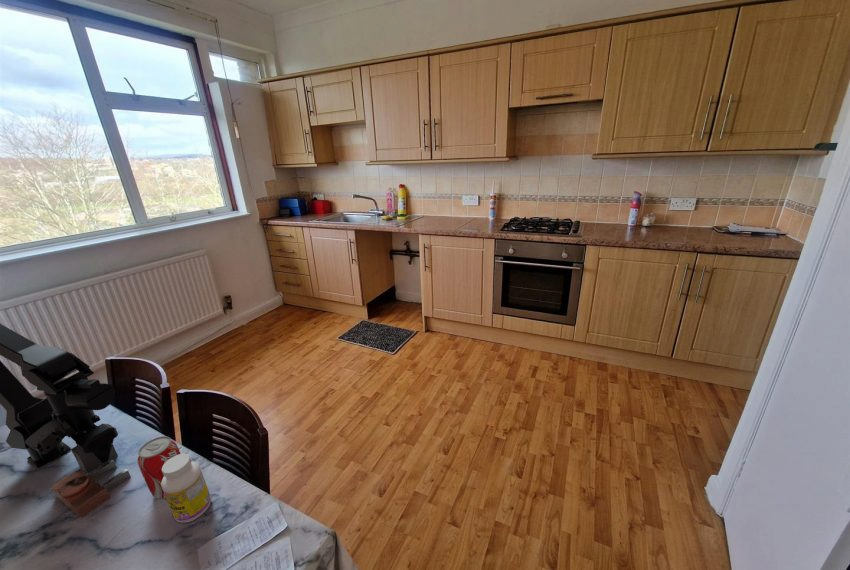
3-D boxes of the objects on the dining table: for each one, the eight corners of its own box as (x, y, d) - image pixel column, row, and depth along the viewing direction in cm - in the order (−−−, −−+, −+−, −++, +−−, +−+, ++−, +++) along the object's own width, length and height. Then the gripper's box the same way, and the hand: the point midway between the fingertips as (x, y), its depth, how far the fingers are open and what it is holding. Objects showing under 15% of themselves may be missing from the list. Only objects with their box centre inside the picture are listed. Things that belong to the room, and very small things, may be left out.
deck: (56, 496, 78) (48, 483, 76) (110, 462, 86) (104, 450, 85) (81, 518, 72) (73, 504, 71) (135, 480, 81) (129, 467, 79)
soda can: (171, 504, 74) (153, 461, 70) (144, 499, 76) (125, 457, 72) (197, 476, 81) (182, 435, 77) (172, 472, 82) (156, 432, 78)
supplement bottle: (168, 517, 72) (147, 470, 67) (199, 490, 77) (182, 445, 73) (188, 529, 69) (168, 482, 65) (218, 501, 75) (202, 455, 70)
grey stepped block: (80, 468, 85) (68, 445, 82) (110, 450, 90) (99, 428, 87) (88, 473, 83) (76, 450, 81) (117, 455, 88) (107, 433, 86)
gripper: (5, 414, 78) (36, 467, 83) (39, 441, 70) (70, 497, 75) (70, 386, 87) (93, 435, 92) (106, 406, 79) (130, 458, 84)
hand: (96, 455), depth 86 cm, fingers open, 9 cm apart
